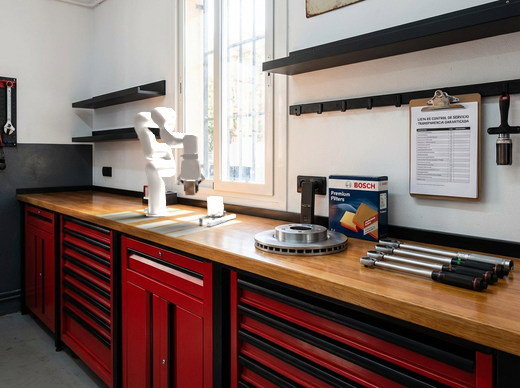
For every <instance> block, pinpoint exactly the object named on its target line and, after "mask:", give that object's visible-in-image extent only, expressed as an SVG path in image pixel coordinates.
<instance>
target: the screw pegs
mask: <svg viewBox="0 0 520 388" xmlns="http://www.w3.org/2000/svg"><path fill="white" fill-rule="evenodd" d="M225 216H227V210H223V213H222V217H225ZM198 219H199V223H198V224H199V226H200V227H201V226H202V227H203V226H204V225H203V217H199V218H198ZM215 219H216V217H215V214H212V217H211V221H212V220H215Z"/></svg>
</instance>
